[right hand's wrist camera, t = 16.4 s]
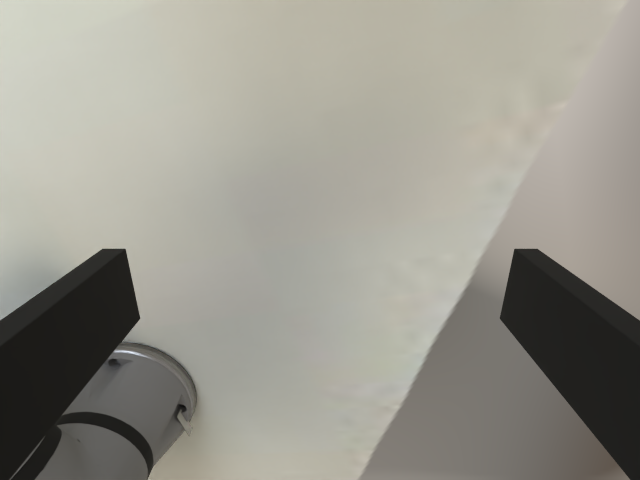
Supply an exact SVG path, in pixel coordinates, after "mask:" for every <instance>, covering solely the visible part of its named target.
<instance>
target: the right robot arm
mask: <svg viewBox="0 0 640 480" xmlns="http://www.w3.org/2000/svg"><path fill="white" fill-rule="evenodd" d="M139 319H140V316H139V311H138V306H137V301H136V297H135V292H134V287H133V282H132V278H131V273H130V268H129V263H128V259H127V254H126V249H102V250H100V251H99V252H98V253H96V254H95V255H93V256H92V257H90V258H89V259H88V260H86V261H85V262H83V263H82V264H80V265H79V266H78V267H76V268H75V269H73V270H72V271H71V272H69V273H68V274H66V275H65V276H63V277H62V278H61V279H59V280H58V281H56V282H55V283H53V284H52V285H51V286H49V287H48V288H46V289H45V290H43V291H42V292H41V293H39V294H38V295H36V296H35V297H33V298H32V299H31V300H29V301H28V302H26V303H25V304H23V305H22V306H21V307H19V308H18V309H16V310H15V311H13V312H12V313H11V314H9V315H8V316H6V317H5V318H3V319H2V320H1V321H0V480H147V479H148V477H149V475H150V472H151V470H152V468H153V466H154V465H155V464H156V463H157V461H158V460H159V459H160V458H161V457H162V456H163V455H164V453H165V452H166V451H167V450H168V449H169V448H170V447H171V446H172V444H173V443H174V442H175V441H176V440H177V439H178V438H179V436H180V435H181V434H182V433H183V432H184V430H186V432H187V433H188V435H189V437H190V434H191V431H192V429H193V427H192V426H191V424H190V423H189V422H190V420H191V417H192V415H193V412H194V409H195V406H196V391H195V387H194V384H193V382H192V380H191V378H190V376H189V375H188V373H187V372H186V371H185V370H184V368H183V367H182V366H181V365H180V364H179V363H177V362H176V361H175V360H174V359H172V358H171V357H169V356H168V355H166V354H164V353H163V352H161V351H159V350H156V349H154V348H151V347H148V346H144V345H140V344H134V343H121V342H122V340H123V339H124V338H125V337H126V335H127V334H128V333H129V332H130V330H131V329H132V328H133V327H134V326H135V324H136V323H137V322H138V321H139ZM500 319H501V321H502V322H503V323H504V324H505V326H506V327H507V328H508V329H509V330H510V332H511V333H512V334H513V335H514V336H515V338H516V339H517V340H518V342H519V343H520V344H521V345H522V346H523V348H524V349H525V350H526V351H527V353H528V354H529V355H530V356H531V358H532V359H533V360H534V361H535V363H536V364H537V365H538V366H539V367H540V369H541V370H542V371H543V372H544V374H545V375H546V376H547V377H548V378H549V380H550V381H551V382H552V383H553V385H554V386H555V387H556V388H557V390H558V391H559V392H560V393H561V395H562V396H563V397H564V398H565V399H566V401H567V402H568V403H569V404H570V406H571V407H572V408H573V409H574V411H575V412H576V413H577V414H578V416H579V417H580V418H581V419H582V420H583V422H584V423H585V424H586V425H587V427H588V428H589V429H590V430H591V432H592V433H593V434H594V435H595V437H596V438H597V439H598V440H599V441H600V443H601V444H602V445H603V446H604V448H605V449H606V450H607V451H608V453H609V454H610V455H611V456H612V457H613V459H614V460H615V461H616V462H617V464H618V465H619V466H620V467H621V469H622V470H623V471H624V472H625V474H626V475H627V476H628V477H629V478H630V480H640V321H639V320H638V319H637V318H635V317H634V316H632V315H631V314H629V313H628V312H627V311H625V310H624V309H622V308H621V307H619V306H618V305H617V304H615V303H614V302H612V301H611V300H609V299H608V298H607V297H605V296H604V295H602V294H601V293H599V292H598V291H597V290H595V289H594V288H592V287H591V286H589V285H588V284H587V283H585V282H584V281H582V280H581V279H579V278H578V277H577V276H575V275H574V274H572V273H571V272H569V271H568V270H567V269H565V268H564V267H562V266H561V265H559V264H558V263H557V262H555V261H554V260H552V259H551V258H550V257H548V256H547V255H545V254H544V253H542V252H541V251H539V250H538V249H514V254H513V259H512V263H511V268H510V273H509V278H508V282H507V287H506V292H505V297H504V301H503V306H502V311H501V316H500Z"/></svg>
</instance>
